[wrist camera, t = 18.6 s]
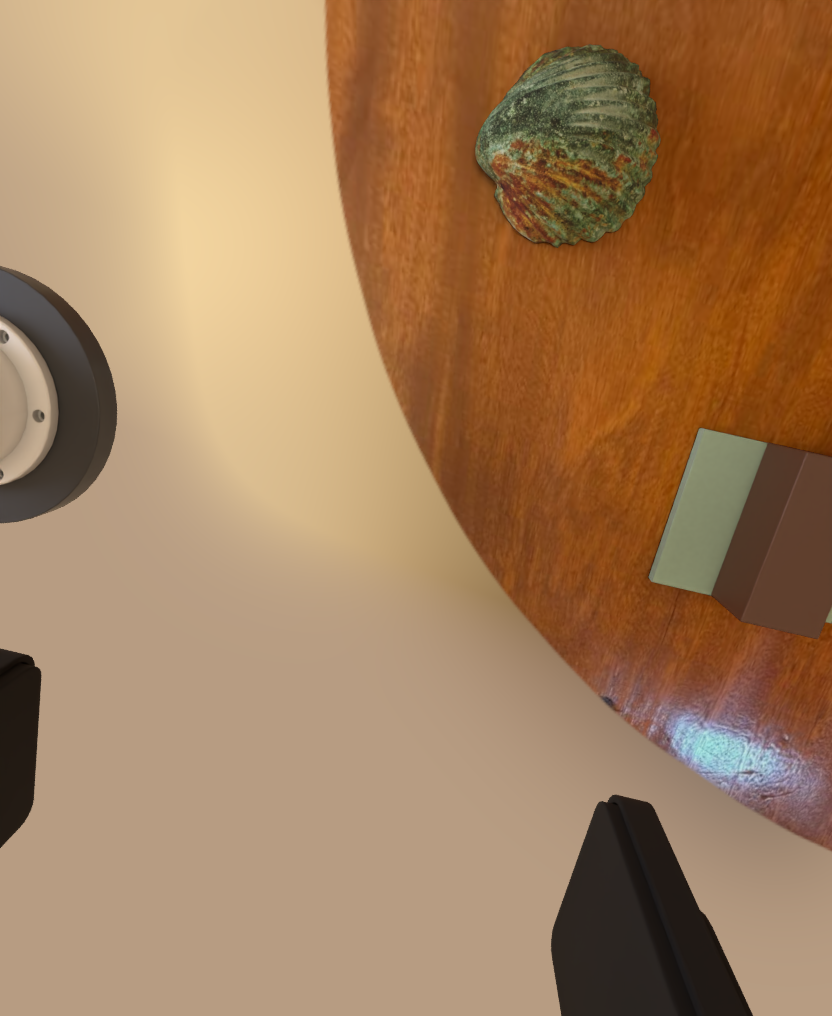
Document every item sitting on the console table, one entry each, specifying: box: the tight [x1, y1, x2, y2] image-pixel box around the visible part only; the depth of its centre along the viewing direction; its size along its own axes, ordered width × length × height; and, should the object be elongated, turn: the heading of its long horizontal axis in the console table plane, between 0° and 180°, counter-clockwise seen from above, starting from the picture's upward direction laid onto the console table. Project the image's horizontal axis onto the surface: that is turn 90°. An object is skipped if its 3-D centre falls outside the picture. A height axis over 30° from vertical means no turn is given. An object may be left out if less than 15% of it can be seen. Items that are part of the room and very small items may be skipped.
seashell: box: [475, 44, 661, 248], centre depth 30 cm, size 10×4×10 cm
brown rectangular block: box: [711, 443, 832, 639], centre depth 33 cm, size 4×10×4 cm, turn 168°
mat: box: [649, 428, 832, 623], centre depth 36 cm, size 12×10×1 cm
